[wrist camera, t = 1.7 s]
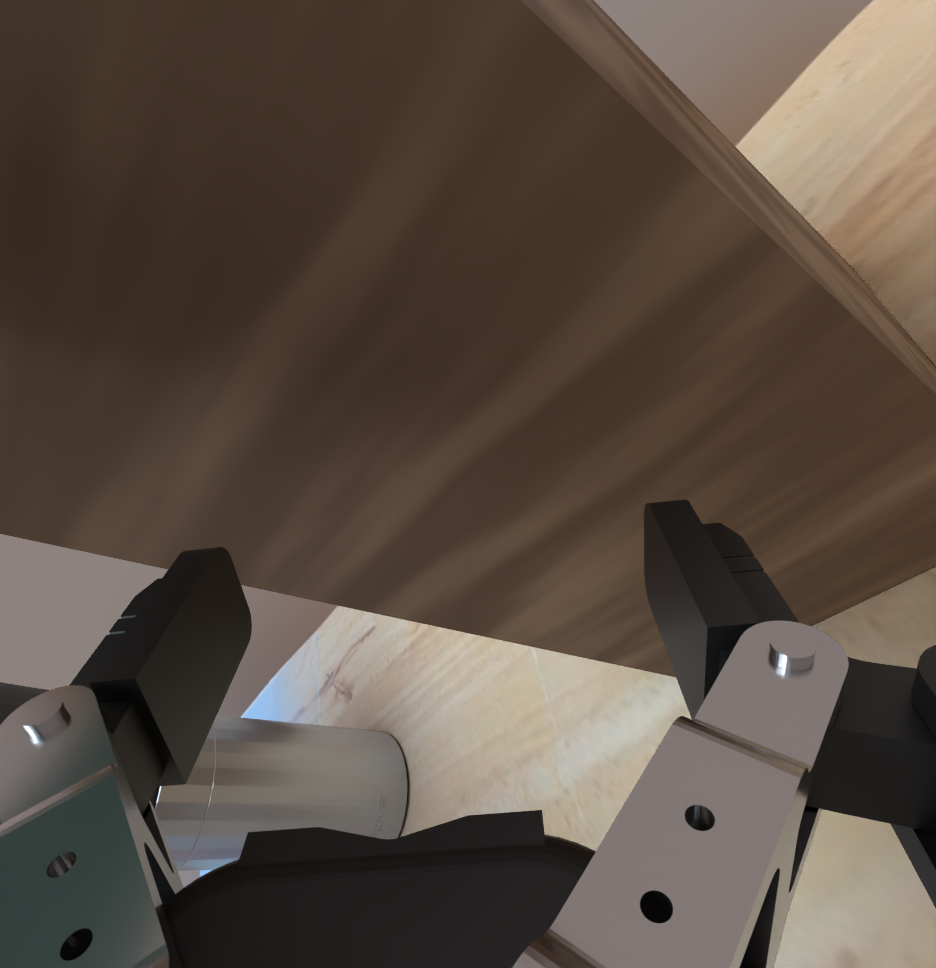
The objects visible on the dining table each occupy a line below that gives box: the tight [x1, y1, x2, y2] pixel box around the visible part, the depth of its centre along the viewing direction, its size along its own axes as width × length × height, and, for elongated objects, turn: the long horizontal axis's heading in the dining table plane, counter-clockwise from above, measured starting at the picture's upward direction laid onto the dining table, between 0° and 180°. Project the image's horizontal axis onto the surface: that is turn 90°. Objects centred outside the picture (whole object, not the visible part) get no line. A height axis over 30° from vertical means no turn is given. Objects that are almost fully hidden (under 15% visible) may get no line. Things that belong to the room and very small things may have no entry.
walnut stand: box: [0, 0, 936, 677], centre depth 24 cm, size 15×16×32 cm
